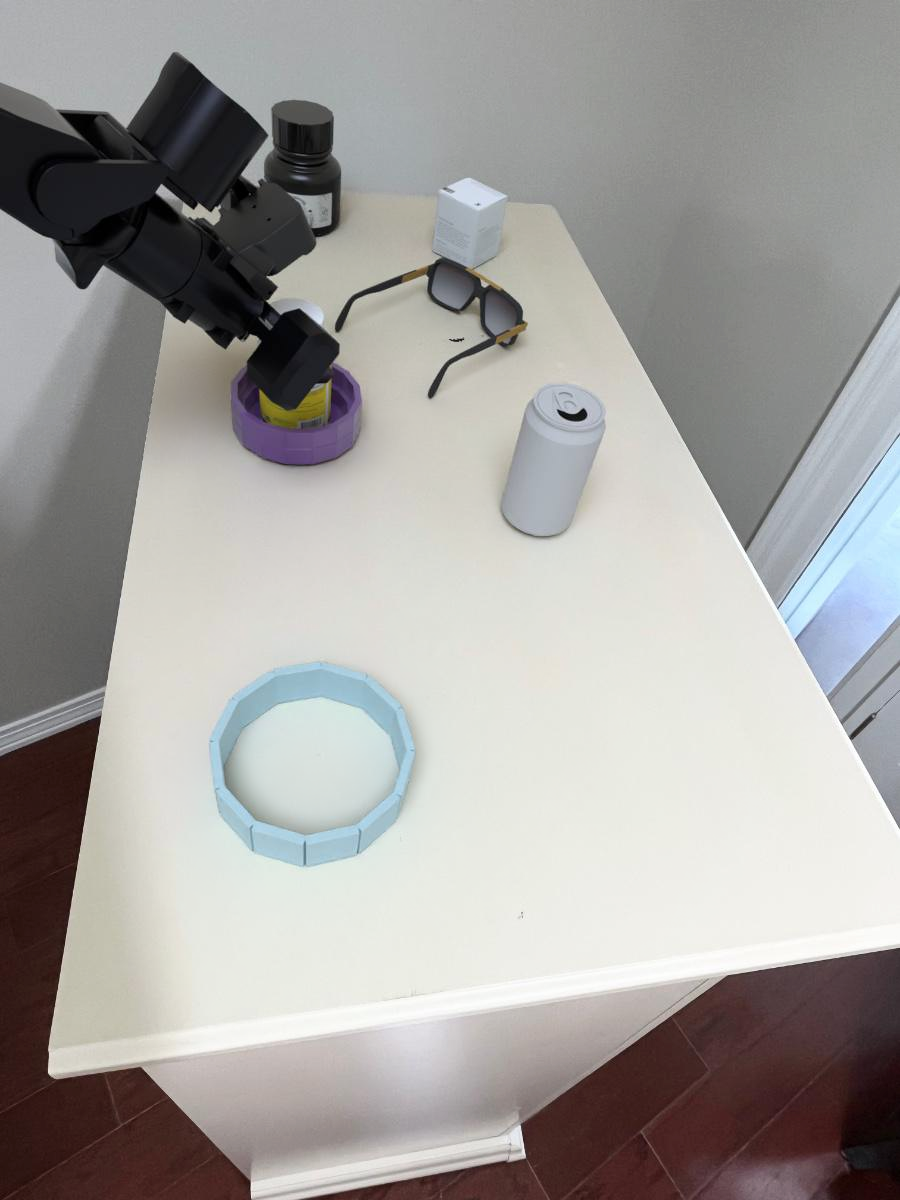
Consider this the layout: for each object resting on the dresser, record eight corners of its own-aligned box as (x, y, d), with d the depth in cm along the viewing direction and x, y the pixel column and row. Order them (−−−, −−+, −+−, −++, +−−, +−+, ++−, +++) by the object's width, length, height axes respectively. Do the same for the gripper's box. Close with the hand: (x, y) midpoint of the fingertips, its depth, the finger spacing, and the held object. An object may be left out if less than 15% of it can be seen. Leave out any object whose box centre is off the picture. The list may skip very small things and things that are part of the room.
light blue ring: (182, 831, 48) (174, 807, 45) (260, 671, 55) (257, 642, 53) (376, 889, 47) (380, 867, 44) (427, 719, 55) (433, 692, 52)
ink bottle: (250, 224, 94) (244, 114, 85) (280, 195, 100) (277, 88, 90) (327, 246, 93) (330, 137, 84) (353, 215, 99) (357, 110, 90)
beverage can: (510, 544, 67) (543, 433, 57) (490, 492, 70) (518, 379, 61) (580, 539, 68) (623, 429, 59) (557, 487, 72) (594, 377, 63)
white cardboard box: (498, 256, 98) (510, 195, 92) (469, 272, 94) (479, 209, 89) (459, 236, 100) (469, 175, 94) (429, 251, 96) (437, 188, 91)
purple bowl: (213, 448, 69) (208, 411, 66) (262, 377, 76) (260, 341, 73) (335, 482, 68) (337, 446, 65) (373, 407, 76) (376, 372, 73)
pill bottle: (282, 393, 74) (280, 283, 66) (341, 416, 73) (347, 308, 65) (247, 430, 70) (240, 317, 62) (309, 454, 69) (311, 344, 61)
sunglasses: (334, 332, 83) (335, 287, 79) (435, 290, 91) (440, 247, 87) (429, 400, 78) (435, 356, 74) (526, 349, 86) (536, 307, 82)
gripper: (318, 223, 48) (436, 338, 62) (176, 102, 56) (308, 228, 70) (210, 368, 50) (347, 448, 64) (88, 232, 58) (233, 329, 72)
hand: (309, 356), depth 67 cm, fingers closed on pill bottle, 6 cm apart
